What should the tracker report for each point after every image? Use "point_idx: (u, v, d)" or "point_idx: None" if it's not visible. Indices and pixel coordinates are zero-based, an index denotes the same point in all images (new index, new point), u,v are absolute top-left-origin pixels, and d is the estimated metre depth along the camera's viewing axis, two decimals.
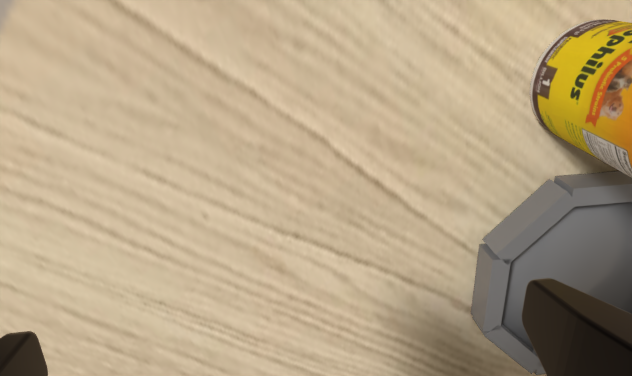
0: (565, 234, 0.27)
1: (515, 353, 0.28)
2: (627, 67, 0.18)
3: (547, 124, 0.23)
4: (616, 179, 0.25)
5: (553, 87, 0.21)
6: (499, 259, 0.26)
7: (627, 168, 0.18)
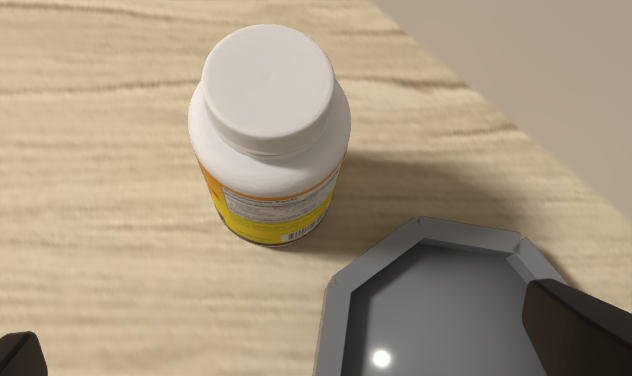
0: (388, 329, 0.22)
1: None
2: None
3: (252, 239, 0.22)
4: None
5: (215, 205, 0.21)
6: None
7: (247, 200, 0.17)
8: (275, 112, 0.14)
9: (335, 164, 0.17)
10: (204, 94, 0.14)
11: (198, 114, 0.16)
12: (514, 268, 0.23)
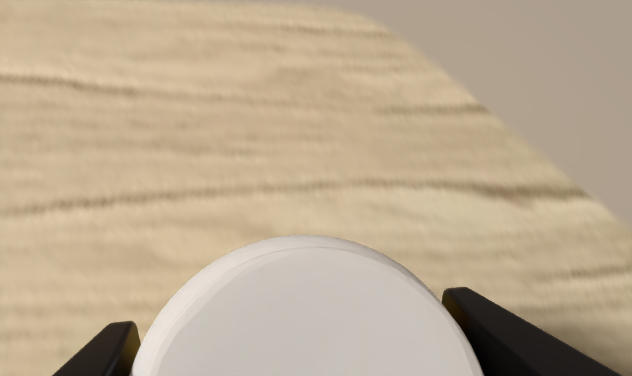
0: None
1: None
2: None
3: None
4: None
5: None
6: None
7: None
8: None
9: None
10: None
11: None
12: None
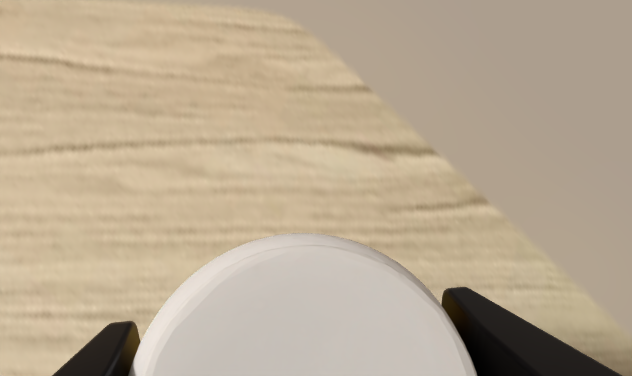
0: None
1: None
2: None
3: None
4: None
5: None
6: None
7: None
8: None
9: None
10: None
11: None
12: None
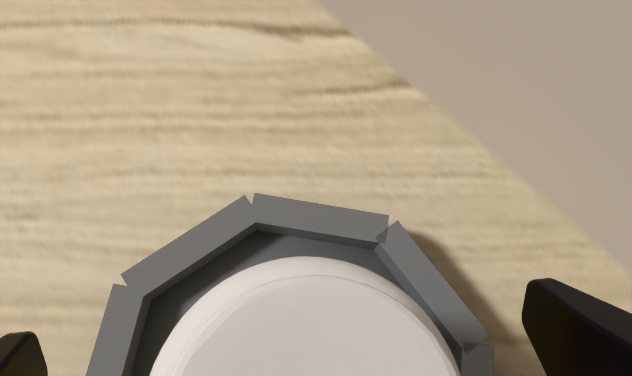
0: None
1: None
2: None
3: None
4: None
5: None
6: None
7: None
8: None
9: None
10: None
11: None
12: (384, 263, 0.17)
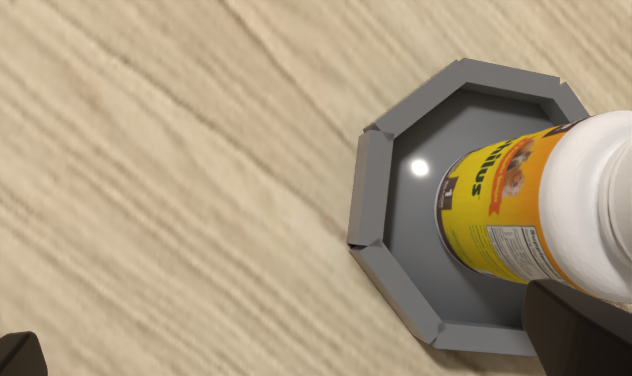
0: (462, 139, 0.22)
1: (404, 297, 0.20)
2: (525, 146, 0.16)
3: (453, 245, 0.20)
4: None
5: (455, 194, 0.19)
6: (379, 131, 0.20)
7: (539, 256, 0.15)
8: None
9: None
10: None
11: (586, 152, 0.13)
12: None
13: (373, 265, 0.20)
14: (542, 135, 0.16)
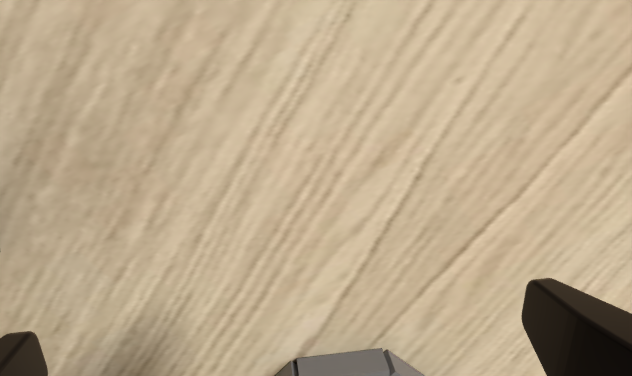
0: None
1: None
2: None
3: None
4: None
5: None
6: (389, 375, 0.26)
7: None
8: None
9: None
10: None
11: None
12: None
13: None
14: None
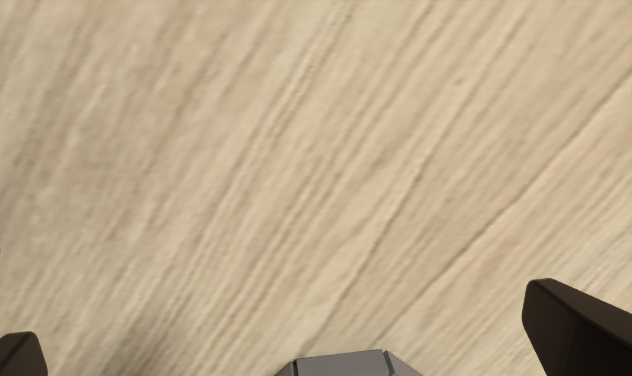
0: None
1: None
2: None
3: None
4: None
5: None
6: None
7: None
8: None
9: None
10: None
11: None
12: None
13: None
14: None
